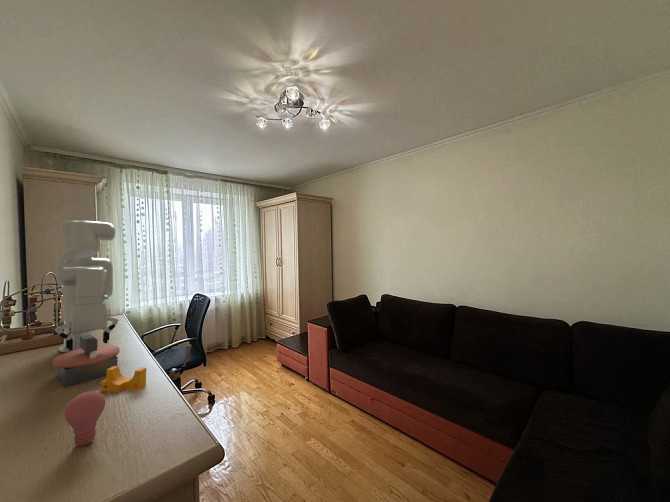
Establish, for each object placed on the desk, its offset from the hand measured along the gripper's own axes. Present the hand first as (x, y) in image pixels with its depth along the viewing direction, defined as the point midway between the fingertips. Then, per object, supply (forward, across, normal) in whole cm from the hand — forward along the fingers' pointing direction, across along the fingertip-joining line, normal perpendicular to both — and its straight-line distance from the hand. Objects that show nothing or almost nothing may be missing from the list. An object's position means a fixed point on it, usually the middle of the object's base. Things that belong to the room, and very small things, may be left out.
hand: (88, 346), depth 97 cm
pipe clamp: (+11, -5, +22) cm, 25 cm away
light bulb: (+11, +9, +46) cm, 48 cm away
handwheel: (+4, 0, 0) cm, 4 cm away
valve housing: (+10, 0, 0) cm, 11 cm away
